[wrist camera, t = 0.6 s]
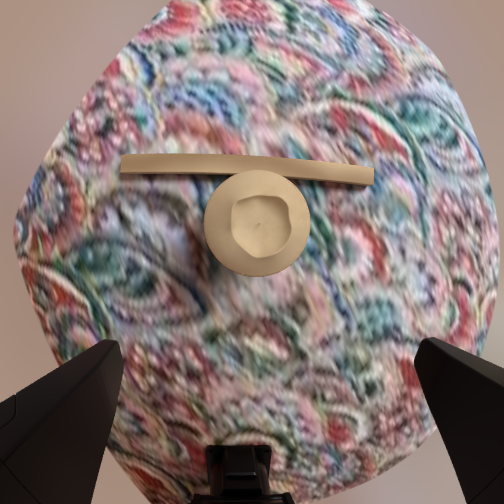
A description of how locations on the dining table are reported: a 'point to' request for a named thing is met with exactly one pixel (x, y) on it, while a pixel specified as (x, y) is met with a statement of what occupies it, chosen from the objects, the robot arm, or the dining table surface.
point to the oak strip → (245, 167)
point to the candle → (256, 223)
